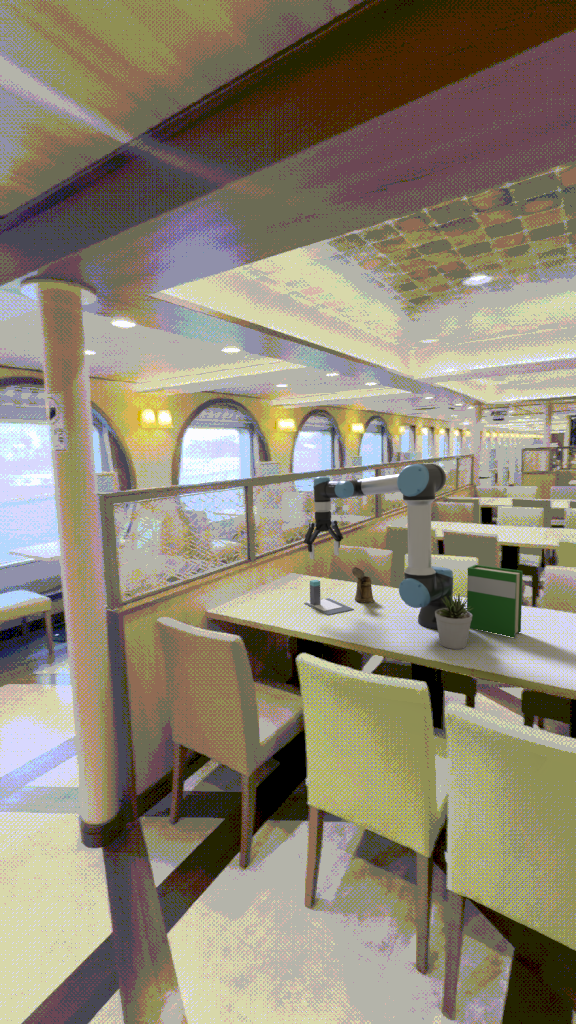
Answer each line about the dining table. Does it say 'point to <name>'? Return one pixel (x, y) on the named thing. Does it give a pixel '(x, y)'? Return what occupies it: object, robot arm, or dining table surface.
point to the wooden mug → (363, 587)
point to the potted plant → (453, 623)
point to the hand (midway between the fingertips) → (324, 557)
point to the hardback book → (495, 599)
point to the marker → (315, 592)
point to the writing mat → (329, 606)
